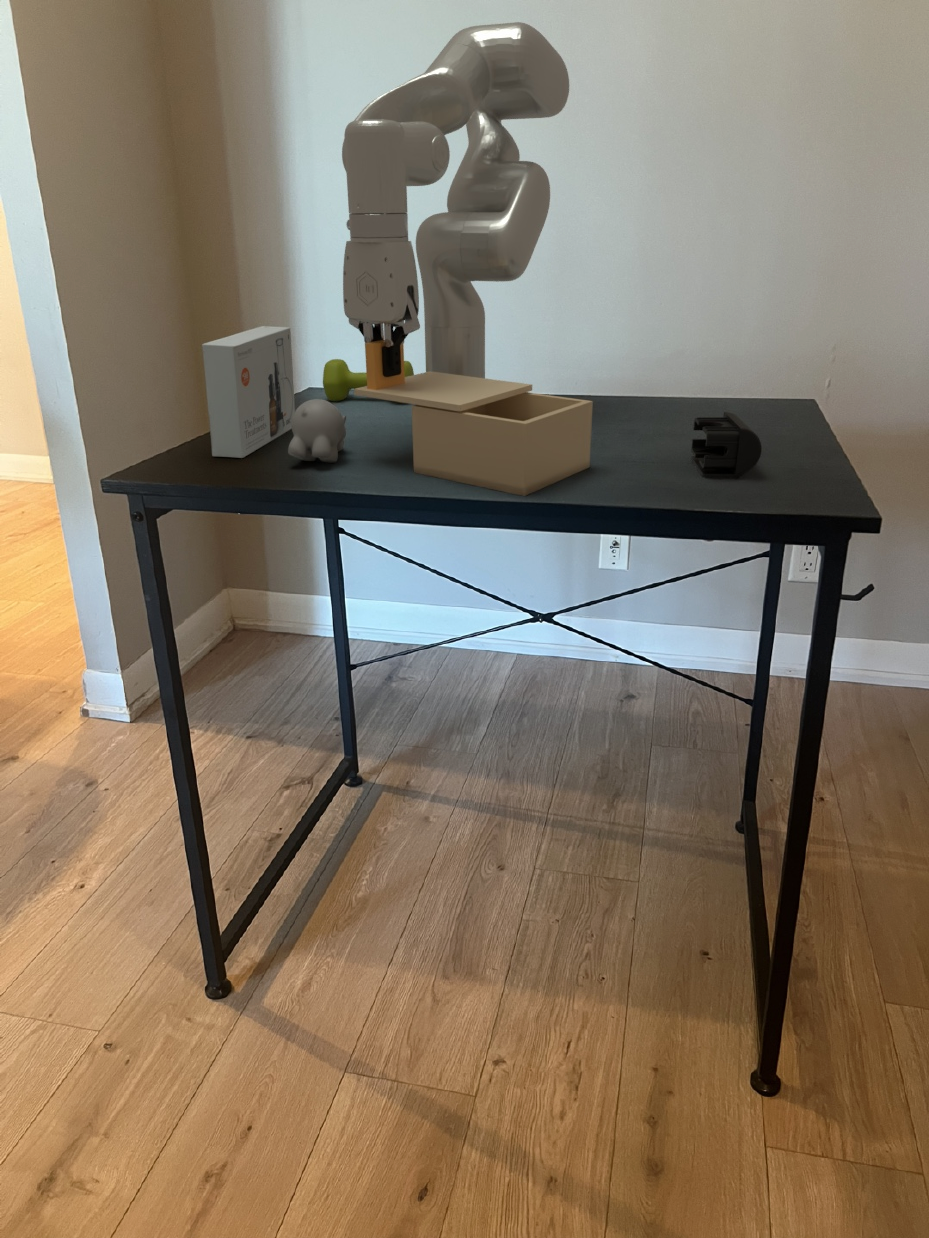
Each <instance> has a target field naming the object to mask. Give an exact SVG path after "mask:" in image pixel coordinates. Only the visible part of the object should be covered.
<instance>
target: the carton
mask: <svg viewBox="0 0 929 1238" xmlns="http://www.w3.org/2000/svg"><path fill="white" fill-rule="evenodd" d="M593 403H594V401H592V400H588V399H587V400H586V399H580V398H579V399H578V398H571V397H564V396H556V395H549V394H543V393H536V392H530V391H529V392H525V393H522V394H518V395H515V396H512V397H508V398H505V399H501V400H498V401H494V402H491V403H488V404H484V405H481V406H477V407H474V408H471V409H467V410H464V411H453V410H447V409H441V408H435V407H428V406H422V405H416V404H412V405H411V424H412V426H411V427H412V454H413V458H412V459H413V473H415V474H420V475H425V476H428V477H433V478H436V479H437V478H438V479H443V480H448V481H452V482H456V483H462V484H467V485H471V486H476V487H481V488H483V489H484V488H485V489H490V490H493V491H494V490H495V491H499V492H503V493H508V494H513V495H517V496H521V497H522V496H523V497H525V496H527V495H530V494H532V493H535V492H537V491H538V490H541V489H543V488H545V487H549V486H550V485H553V484H555V483H557V482H560V481H562V480H564V479H566V478H568V477H570V476H573V475H575V474H577V473H579V472H582V471H584V470H586V469H588V468H590V462H591V444H592V443H591V442H592V424H593Z"/></svg>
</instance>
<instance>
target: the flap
mask: <svg viewBox="0 0 929 1238" xmlns="http://www.w3.org/2000/svg"><path fill="white" fill-rule="evenodd" d="M384 346H386V345H385V342H384V340H380V341H375V342H369V343H365V342H364V350H365V351H364V355H365V368H366V369H365V370H366V371H365V373H367V386H364V387H360V388H356V389H353V394H354V396H361V397H365V398H366V397H367V398H372V399H377V400H384V401H391V402H394V401H397V402H403V403H402V404H409V405H422V406H428V407H435V408H441V409H447V410H453V411H464V410H467V409H471V408H474V407H477V406H481V405H484V404H488V403H491V402H494V401H498V400H501V399H505V398H508V397H512V396H515V395H518V394H522V393H525V392H529V393H530V392H532V391H533V384H531V383H530V384H529V383H524V382H517V381H516V382H515V381H506V380H500V379H499V380H498V379H492V378H486V377H485V378H477V377H470V376H462V375H454V374H447V373H439V372H431V371H429V372H426V371H425V372H422V373H417V374H414V375H412V376H408V377H405V373H404V361H405V354H404V353H405V350H404V348H405V347H404V344H402V345H400V350H401V374H400V375H395V376H391V377H384V376H383V366H382V347H384Z"/></svg>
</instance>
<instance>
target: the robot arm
mask: <svg viewBox="0 0 929 1238" xmlns="http://www.w3.org/2000/svg"><path fill="white" fill-rule="evenodd" d="M569 77H570V76H569V72H568V67H567V66H566V62H565V61H564V59H563V57H562V56H561V55H560V53H559V52H558V50H556V49H555V48H554V46H553V45H552V44H551V43H550V41H548V39H547V38H546V37H545V36H544V35H543V34H542V33H541V32H540V31H539V30H537V29H536V28H535V27H533V26H531V25H530V24H528V23H525V22H522V21H521V22H519V21H518V22H517V21H515V22H507V23H493V24H492V23H491V24H482V25H481V24H480V25H473V26H469V27H464V28H462V29H461V30H459V31H458V32H456V33H454V35H453V36H452V37H451V38H450V39H449V41H448V42H447V43H446V45H445V46H444V47H443V48H442V50H441V51H440V52H439V54H438V55H437V56H436V58H435V59H434V60H433V61H432V63H431V64H429V66H428V68H427V69H426V70H425V71H424V72H422V74H419V75H417V76H415V77H413V78H411V79H409V80H407V81H405V82H404V83H402V84H400V85H398V86H397V87H394V88H393V89H391V90H388V91H387V92H385V93H383V94H381V95H380V96H378V97H376V98H374V100H372V101H371V102H369V103H368V104H367V105H366V106H365V107H364V108H363V109H362V110H361V111H360V112H359V114H358V115H357V116H356V117H355V118H354V120H352V121H350V122H348V124H347V125H346V127H345V129H344V130H345V131H344V139H343V142H342V147H341V148H342V149H341V158H342V159H341V160H342V165H343V168H344V170H345V172H346V185H347V187H346V188H347V190H346V191H347V201H348V205H347V206H348V219H347V221H346V224H345V225H346V228H347V230H349V236H350V239H349V240H346V243H345V246H344V247H345V248H344V254H343V255H344V256H343V267H342V268H343V269H342V270H343V271H342V295H343V299H342V301H343V311H344V315H345V317H346V318H348V323H349V325H351V326H352V327H354V328H356V329H357V330H358V331H359V332H360V333H361V335H362V337H363V341H364V344H365V343H369V342H375V341H380V340H384V342H385V345H386V346H384V347H382V366H383V376H384V377H391V376H395V375H400V374H401V350H400V345H402V344H403V345H404V344H405V339H406V338H407V337H408V335H409V334H412V333H414V332H416V331H418V330H419V329H421V324H420V320H419V317H418V316H419V309H420V296H419V281H418V271H417V264H416V258H415V253H414V248H413V247H414V246H413V244H412V241H411V240H409V223H408V221H409V220H408V219H409V218H408V217H409V216H408V214H409V213H408V192H407V191H408V189H407V187H425V186H429V185H433V184H435V183H436V182H437V183H438V181H439V180H441V179H442V178H443V176H444V175H445V174H446V172H447V170H448V167H449V163H450V156H451V155H450V152H451V151H450V145H449V143H448V140H447V138H446V135H448V134H451V133H454V132H457V131H459V130H460V129H462V128H463V127H466V132H467V139H468V140H467V141H468V145H467V149H466V151H465V153H464V155H463V158H462V159H461V162H460V165H459V166H458V169H457V171H456V174H455V175H454V177H453V180H452V182H451V184H450V186H449V189H448V193H447V198H446V207H447V211H446V212H445V211H444V212H439V213H435V214H432V215H430V216H429V217H426V218H425V219H424V220H423V221H421V223H420V225H419V227H418V229H417V231H416V236H415V252H416V257H417V262H418V269H419V272H420V279H421V285H422V286H421V287H422V293H423V294H422V295H423V296H422V297H423V310H424V311H423V315H424V316H423V317H424V351H425V354H424V355H425V357H424V358H425V372H429V371H431V372H439V373H447V374H454V375H462V376H470V377H477V378H485V379H486V312H485V311H486V310H485V305H484V304H483V302H482V299H481V297H480V295H479V293H478V292H477V290H476V289H475V287H474V285H473V284H472V282H512V281H515V280H517V279H519V278H521V276H523V274H524V273H525V271H526V269H527V268H528V266H529V264H530V261H531V259H532V256H533V254H534V251H535V249H536V245H537V243H538V241H539V238H540V236H541V233H542V232H543V228H544V226H545V223H546V220H547V217H548V214H549V209H550V202H551V184H550V180H549V177H548V175H547V172H546V171H545V169H544V168H543V167H542V166H541V165H540V164H538V163H536V162H534V161H529V160H520V158H521V157H520V155H521V154H520V149H519V147H518V145H517V142H516V140H515V139H514V138H513V135H511V133H510V132H509V131H508V129H507V128H506V127H504V125H502V121H504V120H507V121H508V120H524V119H525V120H526V119H545V118H553V117H554V116H557V115H559V114H560V113H561V112H562V111H563V109H564V108H565V106H566V104H567V102H568V98H569V95H570V94H569V93H570V78H569Z"/></svg>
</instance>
